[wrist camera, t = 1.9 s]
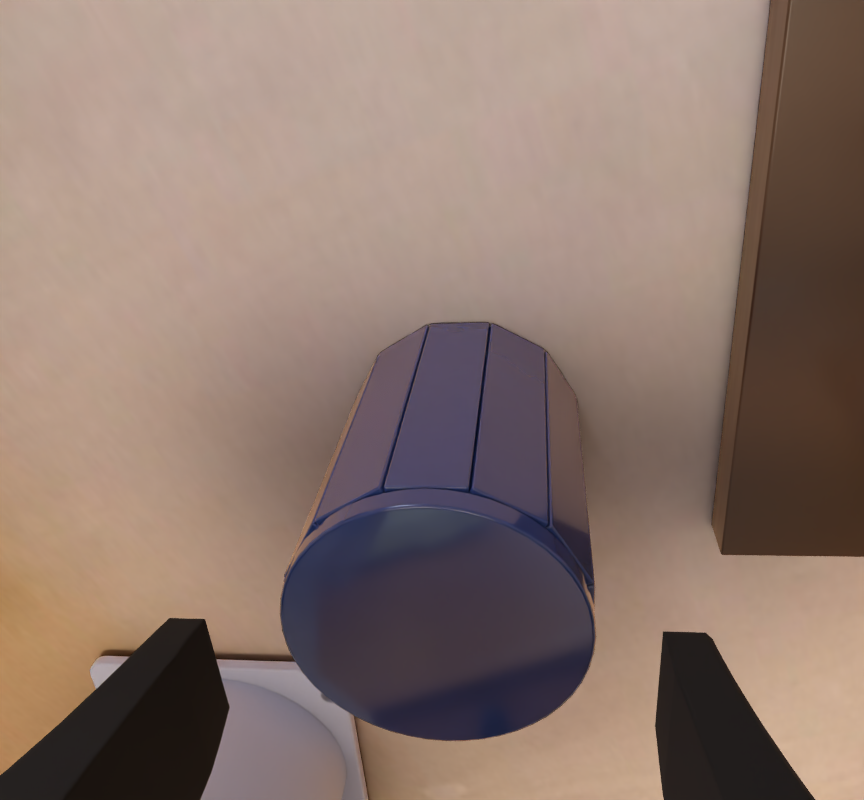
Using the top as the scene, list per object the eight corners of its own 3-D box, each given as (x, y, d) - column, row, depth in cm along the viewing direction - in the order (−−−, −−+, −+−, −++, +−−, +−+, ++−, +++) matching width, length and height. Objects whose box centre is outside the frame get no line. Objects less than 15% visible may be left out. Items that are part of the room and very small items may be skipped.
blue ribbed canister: (575, 512, 20) (592, 749, 14) (371, 511, 21) (304, 735, 15) (577, 319, 18) (600, 506, 12) (345, 325, 19) (253, 504, 12)
